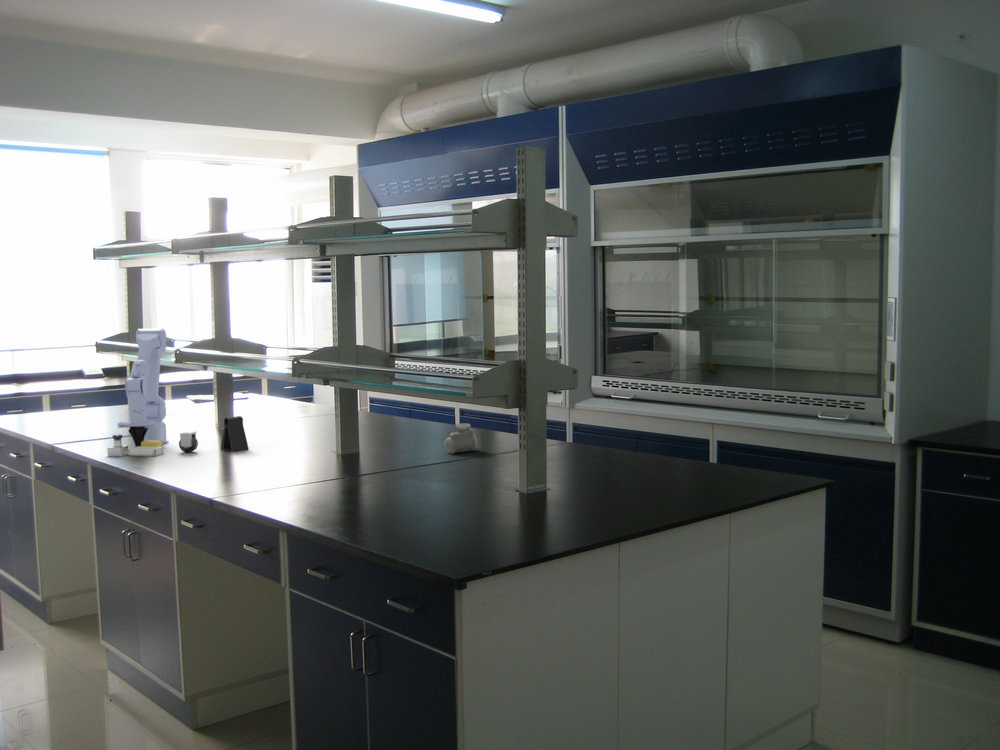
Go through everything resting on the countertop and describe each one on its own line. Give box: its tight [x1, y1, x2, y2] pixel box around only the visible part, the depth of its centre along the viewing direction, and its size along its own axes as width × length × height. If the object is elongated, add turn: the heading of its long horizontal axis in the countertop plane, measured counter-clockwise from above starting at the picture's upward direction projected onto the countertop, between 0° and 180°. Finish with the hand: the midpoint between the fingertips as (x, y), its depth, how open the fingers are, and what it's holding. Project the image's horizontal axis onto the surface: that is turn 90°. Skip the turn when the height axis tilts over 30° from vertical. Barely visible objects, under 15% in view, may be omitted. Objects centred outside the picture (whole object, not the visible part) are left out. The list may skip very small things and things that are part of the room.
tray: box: [128, 446, 164, 457], centre depth 320 cm, size 6×10×2 cm, turn 83°
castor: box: [178, 430, 199, 454], centre depth 324 cm, size 4×6×7 cm
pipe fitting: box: [444, 422, 482, 455], centre depth 320 cm, size 12×8×10 cm, turn 126°
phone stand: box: [220, 415, 250, 453], centre depth 328 cm, size 9×6×12 cm, turn 49°
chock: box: [141, 440, 163, 447], centre depth 326 cm, size 4×6×4 cm, turn 85°
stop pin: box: [112, 434, 123, 447], centre depth 320 cm, size 3×3×7 cm
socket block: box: [107, 444, 129, 457], centre depth 320 cm, size 5×5×3 cm
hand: (139, 447), depth 326 cm, fingers closed
